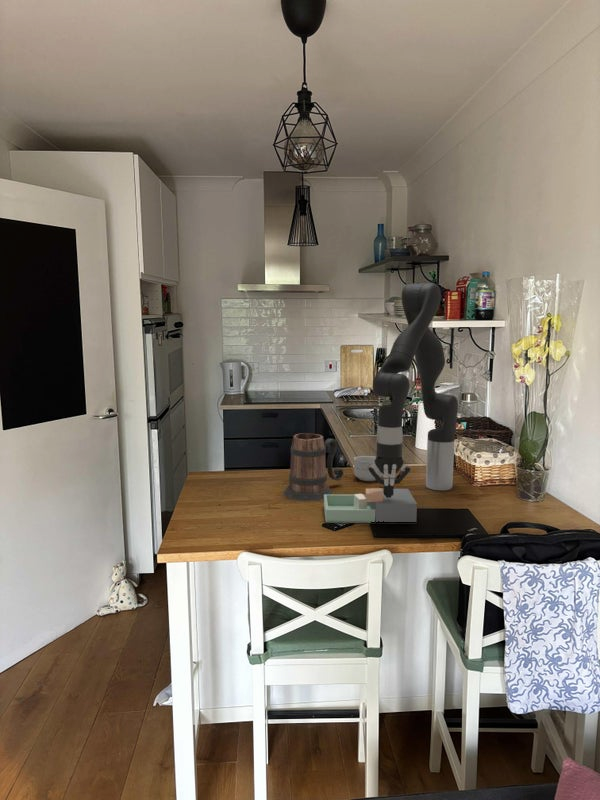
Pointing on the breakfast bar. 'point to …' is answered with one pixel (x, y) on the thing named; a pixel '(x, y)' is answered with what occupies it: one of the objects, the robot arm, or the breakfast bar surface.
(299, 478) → the tankard
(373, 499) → the terracotta tile
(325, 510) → the box
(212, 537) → the breakfast bar surface
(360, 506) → the cream tile
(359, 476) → the teacup
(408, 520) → the grey drawer casing
